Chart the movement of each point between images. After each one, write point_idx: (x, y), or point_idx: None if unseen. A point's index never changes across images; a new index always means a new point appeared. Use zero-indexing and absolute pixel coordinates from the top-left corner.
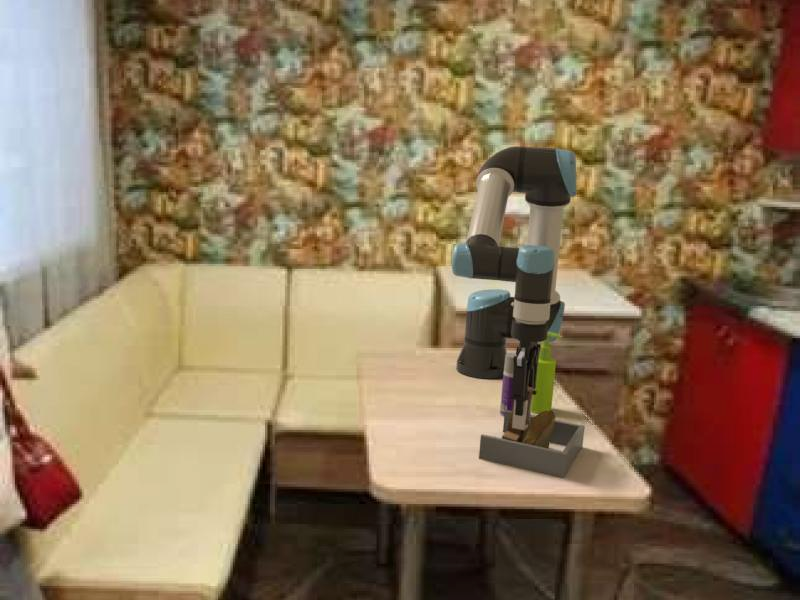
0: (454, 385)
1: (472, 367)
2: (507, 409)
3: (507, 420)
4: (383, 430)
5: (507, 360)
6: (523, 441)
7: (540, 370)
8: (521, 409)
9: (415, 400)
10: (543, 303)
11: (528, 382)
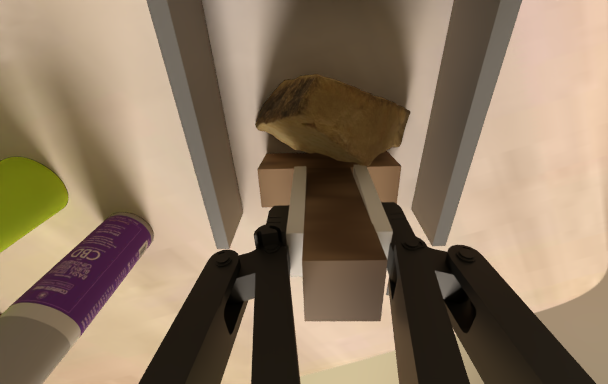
0: (92, 337)
1: None
2: (141, 243)
3: (233, 224)
4: (366, 347)
5: None
6: (400, 144)
7: None
8: (405, 220)
9: None
10: None
11: (411, 324)
